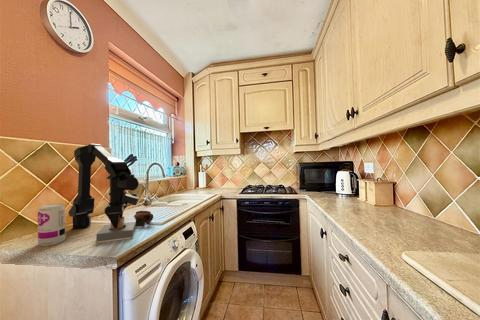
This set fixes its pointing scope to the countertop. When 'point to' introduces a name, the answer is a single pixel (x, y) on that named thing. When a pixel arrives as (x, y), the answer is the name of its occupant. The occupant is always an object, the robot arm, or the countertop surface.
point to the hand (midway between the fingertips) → (117, 224)
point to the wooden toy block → (119, 224)
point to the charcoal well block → (116, 233)
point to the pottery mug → (143, 218)
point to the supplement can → (51, 224)
